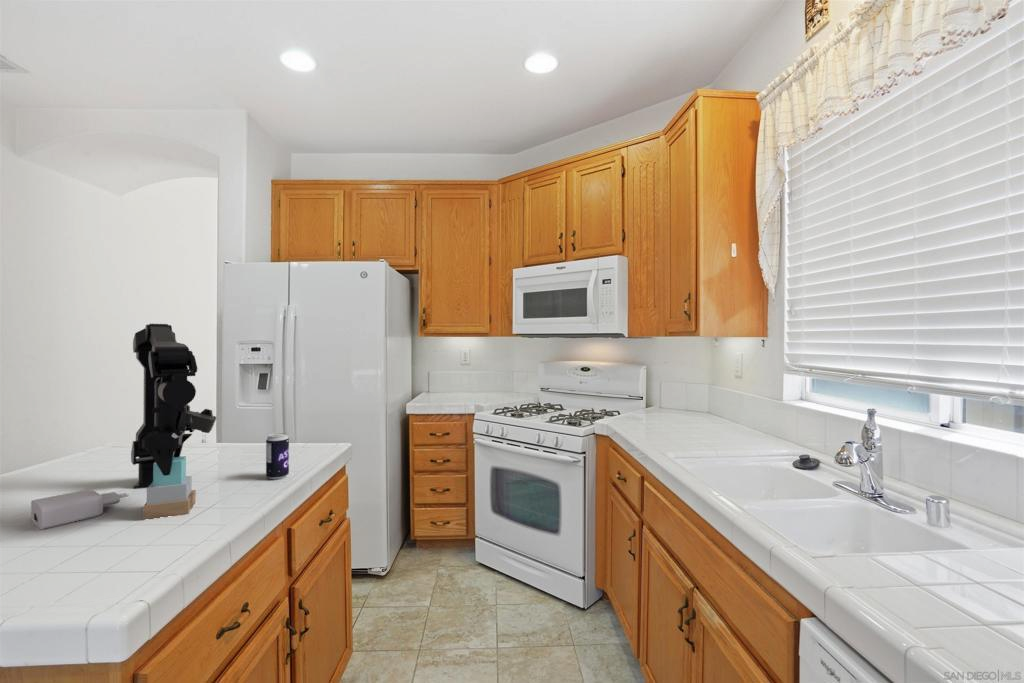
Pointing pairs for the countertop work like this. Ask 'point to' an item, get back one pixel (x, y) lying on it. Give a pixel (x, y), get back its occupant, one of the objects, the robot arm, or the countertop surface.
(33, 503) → the charger
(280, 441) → the beverage can
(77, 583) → the countertop surface
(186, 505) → the tower base
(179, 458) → the teal cube
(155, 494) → the tower top
